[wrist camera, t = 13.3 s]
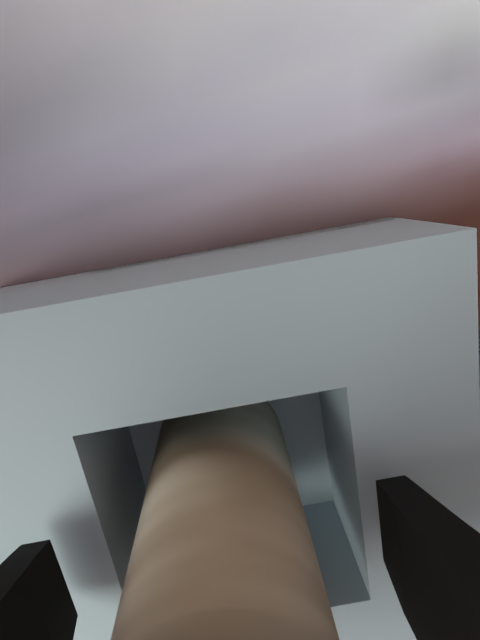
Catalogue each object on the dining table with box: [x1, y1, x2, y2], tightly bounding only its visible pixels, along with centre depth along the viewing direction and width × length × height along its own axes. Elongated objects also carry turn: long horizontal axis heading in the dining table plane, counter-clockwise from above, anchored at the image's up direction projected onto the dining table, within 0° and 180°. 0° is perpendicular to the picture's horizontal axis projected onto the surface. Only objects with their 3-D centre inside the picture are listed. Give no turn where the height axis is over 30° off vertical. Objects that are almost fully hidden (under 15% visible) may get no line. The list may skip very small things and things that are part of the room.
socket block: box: [0, 217, 480, 640], centre depth 12 cm, size 11×11×4 cm
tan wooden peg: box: [111, 401, 339, 640], centre depth 10 cm, size 4×4×7 cm
